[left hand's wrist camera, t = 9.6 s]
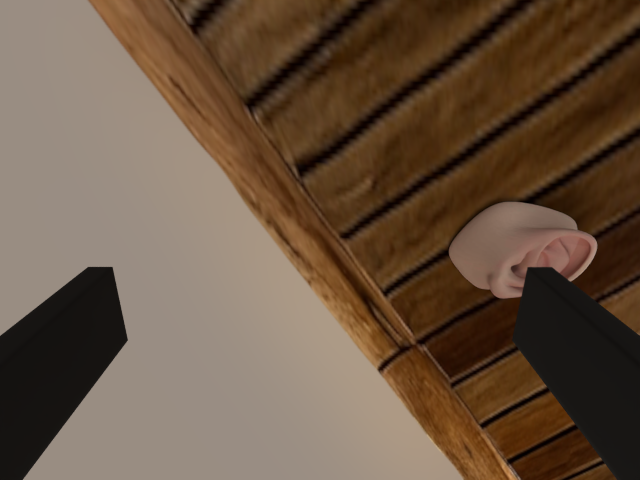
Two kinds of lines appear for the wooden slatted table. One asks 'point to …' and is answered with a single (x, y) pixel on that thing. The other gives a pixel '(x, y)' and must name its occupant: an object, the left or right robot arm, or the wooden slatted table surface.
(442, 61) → the wooden slatted table surface
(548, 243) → the anatomical model
